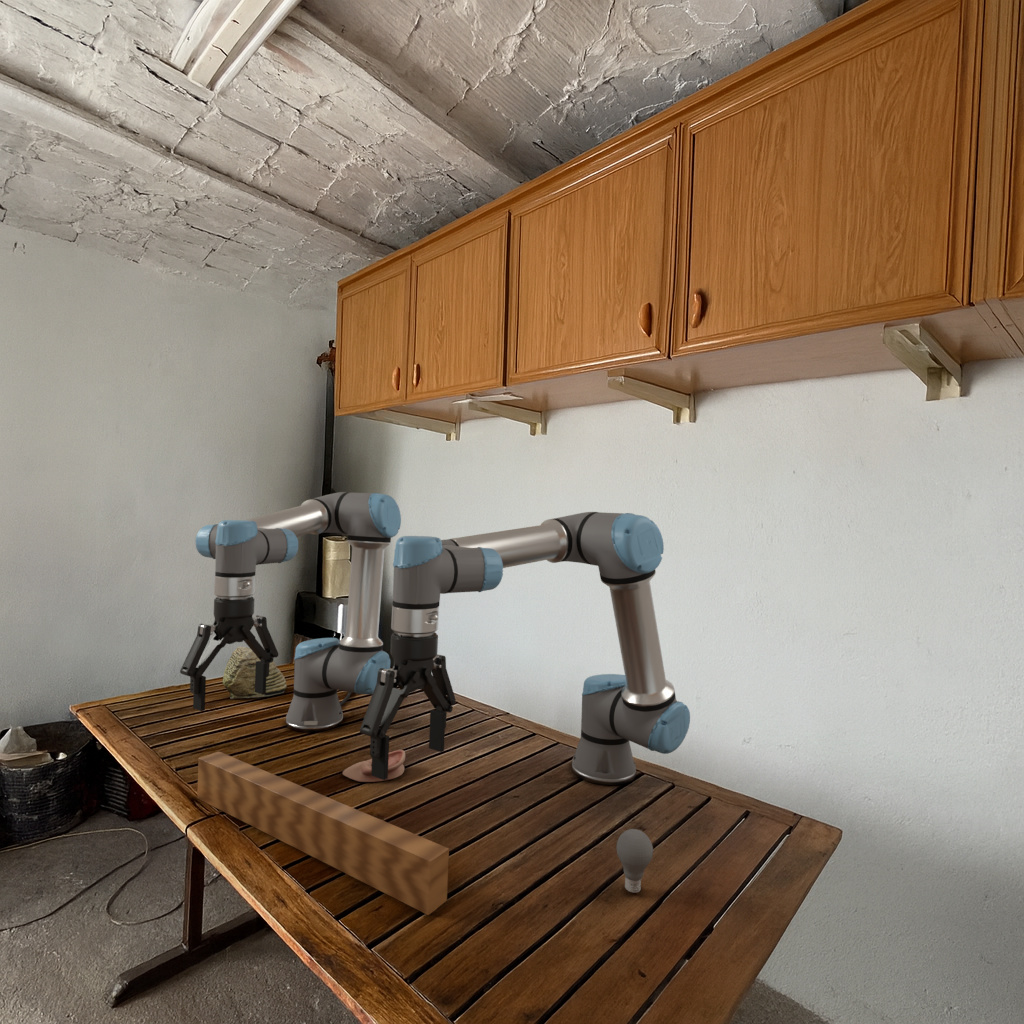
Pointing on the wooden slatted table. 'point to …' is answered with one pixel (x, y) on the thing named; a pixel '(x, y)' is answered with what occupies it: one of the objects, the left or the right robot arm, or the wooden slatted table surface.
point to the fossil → (250, 676)
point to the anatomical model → (364, 768)
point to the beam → (328, 831)
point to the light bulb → (634, 857)
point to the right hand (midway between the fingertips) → (409, 762)
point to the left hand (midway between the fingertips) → (230, 700)
